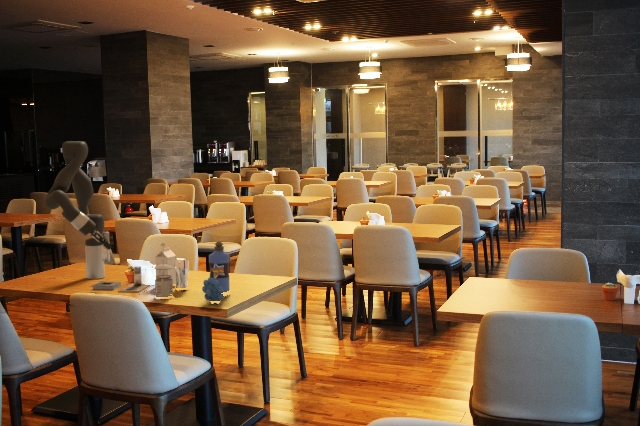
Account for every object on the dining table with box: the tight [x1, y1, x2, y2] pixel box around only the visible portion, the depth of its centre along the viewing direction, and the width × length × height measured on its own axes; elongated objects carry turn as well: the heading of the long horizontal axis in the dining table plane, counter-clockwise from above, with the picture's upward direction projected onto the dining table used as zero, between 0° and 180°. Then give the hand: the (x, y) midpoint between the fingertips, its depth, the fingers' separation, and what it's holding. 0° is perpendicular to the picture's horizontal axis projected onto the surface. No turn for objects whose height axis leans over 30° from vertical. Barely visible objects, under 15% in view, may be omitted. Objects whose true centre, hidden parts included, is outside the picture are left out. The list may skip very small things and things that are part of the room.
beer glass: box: [174, 257, 190, 289], centre depth 340 cm, size 7×7×15 cm
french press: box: [154, 242, 174, 297], centre depth 324 cm, size 10×12×25 cm
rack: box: [117, 283, 151, 294], centre depth 339 cm, size 18×10×2 cm, turn 175°
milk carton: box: [155, 246, 177, 286], centre depth 348 cm, size 7×7×19 cm
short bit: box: [133, 266, 143, 286], centre depth 343 cm, size 3×3×9 cm
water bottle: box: [208, 241, 230, 292], centre depth 326 cm, size 9×9×25 cm
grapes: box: [201, 276, 225, 302], centre depth 307 cm, size 12×7×12 cm, turn 58°
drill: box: [102, 231, 111, 263], centre depth 339 cm, size 3×3×14 cm
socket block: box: [92, 280, 122, 291], centre depth 341 cm, size 10×10×3 cm
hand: (110, 247), depth 340 cm, fingers closed on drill, 3 cm apart
